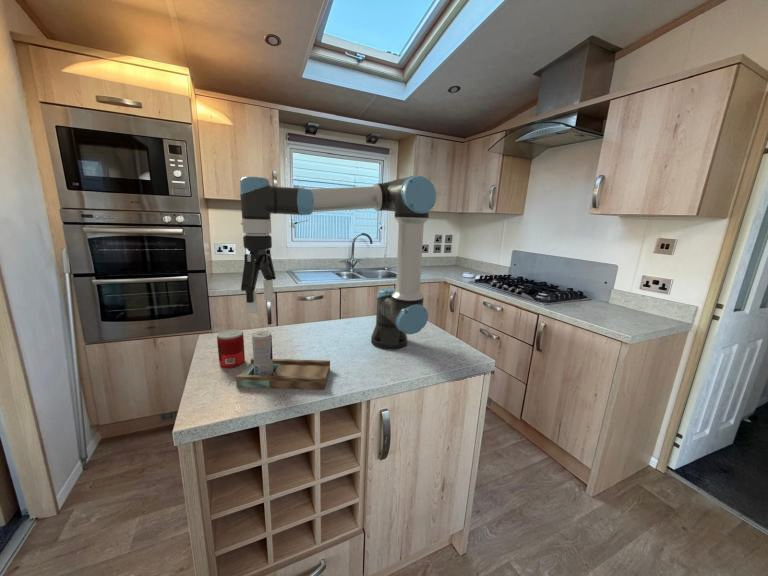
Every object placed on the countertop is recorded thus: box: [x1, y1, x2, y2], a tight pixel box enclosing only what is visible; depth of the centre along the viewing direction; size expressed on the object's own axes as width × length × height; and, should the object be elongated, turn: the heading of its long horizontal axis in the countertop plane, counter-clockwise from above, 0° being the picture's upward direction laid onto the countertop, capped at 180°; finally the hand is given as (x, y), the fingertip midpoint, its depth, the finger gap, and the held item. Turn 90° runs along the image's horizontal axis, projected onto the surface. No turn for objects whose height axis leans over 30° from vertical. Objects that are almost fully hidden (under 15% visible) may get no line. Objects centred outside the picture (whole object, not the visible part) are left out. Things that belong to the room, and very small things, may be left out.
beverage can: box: [251, 330, 274, 376], centre depth 96 cm, size 6×6×15 cm
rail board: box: [235, 357, 331, 391], centre depth 98 cm, size 26×12×4 cm, turn 91°
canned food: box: [216, 328, 246, 369], centre depth 105 cm, size 8×8×11 cm
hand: (261, 306), depth 93 cm, fingers open, 13 cm apart
